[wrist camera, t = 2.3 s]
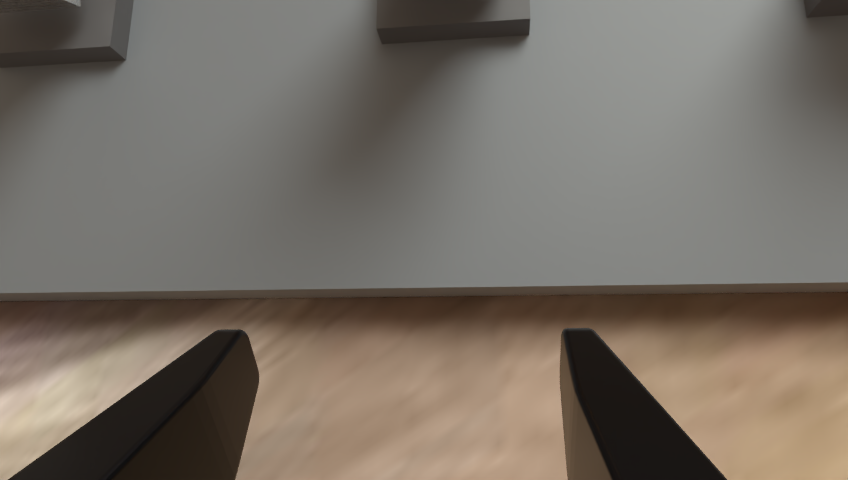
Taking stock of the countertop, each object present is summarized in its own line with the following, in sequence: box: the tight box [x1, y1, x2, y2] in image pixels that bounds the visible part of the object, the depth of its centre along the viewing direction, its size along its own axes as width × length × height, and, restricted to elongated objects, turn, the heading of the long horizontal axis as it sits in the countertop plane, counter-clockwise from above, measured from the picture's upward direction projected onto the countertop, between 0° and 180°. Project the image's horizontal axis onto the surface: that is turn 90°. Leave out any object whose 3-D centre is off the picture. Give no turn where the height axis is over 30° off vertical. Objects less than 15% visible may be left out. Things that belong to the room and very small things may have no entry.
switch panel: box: [0, 0, 848, 301], centre depth 22 cm, size 14×38×3 cm, turn 90°
